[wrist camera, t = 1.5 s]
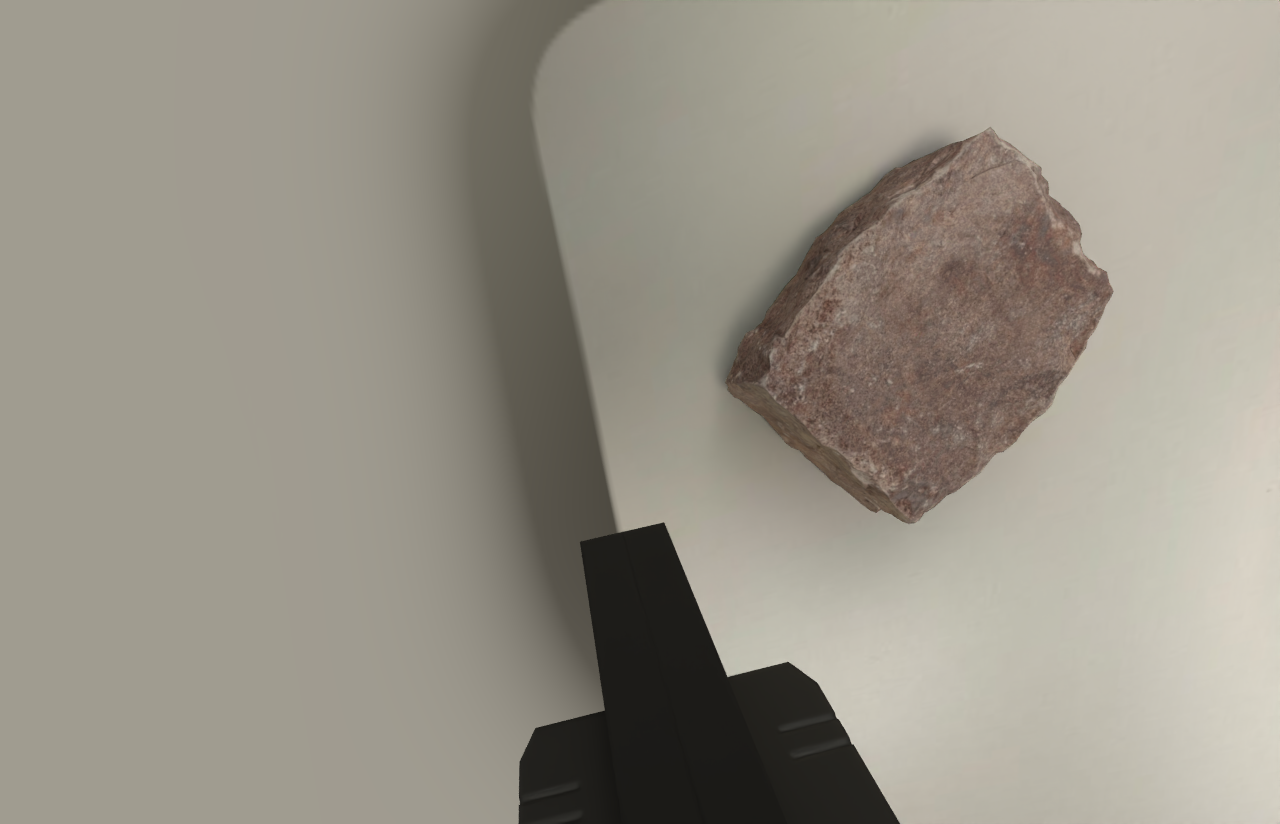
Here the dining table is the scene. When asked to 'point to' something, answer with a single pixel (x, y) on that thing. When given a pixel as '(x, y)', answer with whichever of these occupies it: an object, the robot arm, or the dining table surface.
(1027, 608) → the dining table surface
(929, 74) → the dining table surface
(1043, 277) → the stone
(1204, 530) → the dining table surface
